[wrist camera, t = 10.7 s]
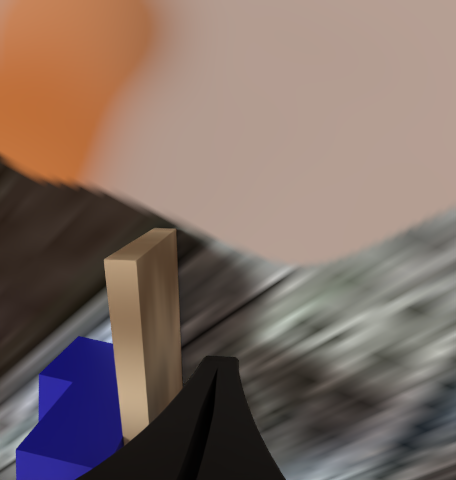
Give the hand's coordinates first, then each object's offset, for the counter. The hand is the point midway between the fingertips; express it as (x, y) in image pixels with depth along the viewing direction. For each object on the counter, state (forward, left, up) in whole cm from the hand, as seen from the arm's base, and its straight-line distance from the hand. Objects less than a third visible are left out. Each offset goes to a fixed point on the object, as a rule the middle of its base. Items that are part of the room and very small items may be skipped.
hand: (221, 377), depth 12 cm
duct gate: (+3, +2, -2) cm, 4 cm away
